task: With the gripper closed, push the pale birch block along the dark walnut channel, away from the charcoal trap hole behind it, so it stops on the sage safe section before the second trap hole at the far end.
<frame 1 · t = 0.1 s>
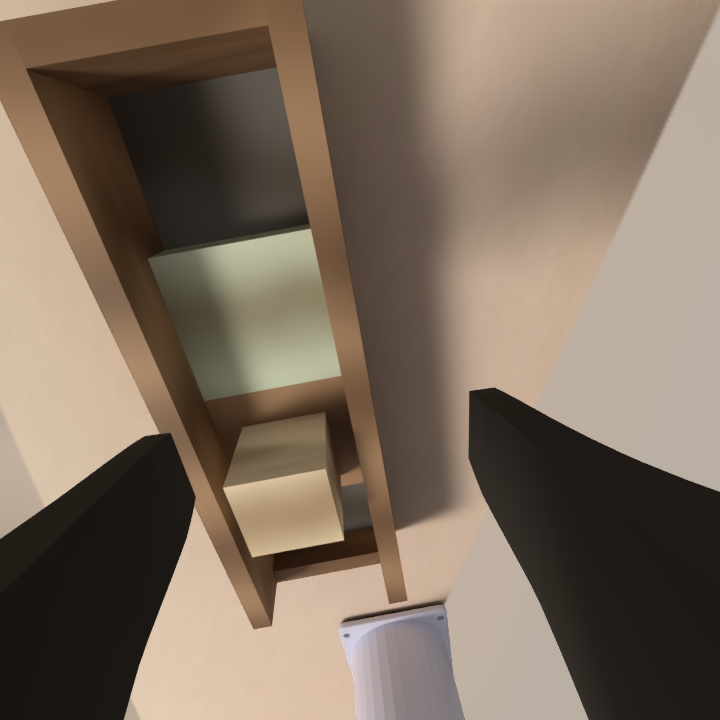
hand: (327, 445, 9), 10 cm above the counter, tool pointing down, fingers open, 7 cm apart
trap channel: (279, 368, 20), on the counter
birch block: (293, 452, 19), point 2 cm above the counter, touching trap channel
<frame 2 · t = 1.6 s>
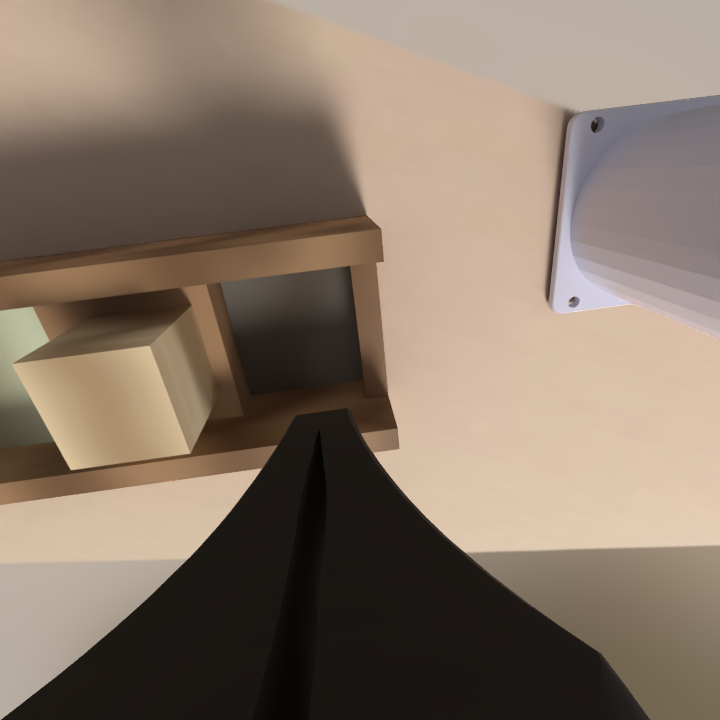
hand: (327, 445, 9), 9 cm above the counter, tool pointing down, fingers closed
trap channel: (91, 350, 18), on the counter
birch block: (157, 358, 16), point 2 cm above the counter, touching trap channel
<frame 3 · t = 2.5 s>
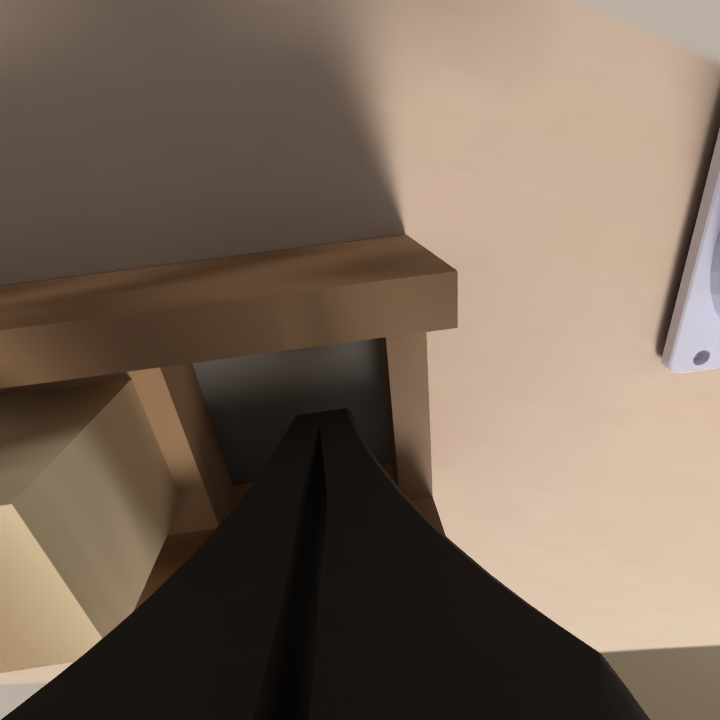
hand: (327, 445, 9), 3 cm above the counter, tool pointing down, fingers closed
birch block: (82, 455, 10), point 2 cm above the counter, touching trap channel
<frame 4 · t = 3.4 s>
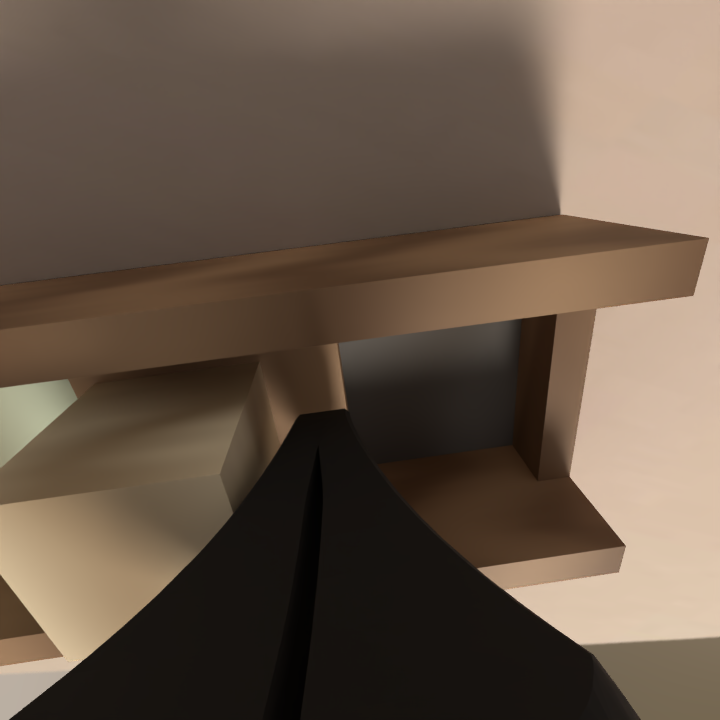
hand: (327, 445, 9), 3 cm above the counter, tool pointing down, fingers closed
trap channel: (137, 410, 12), on the counter
birch block: (201, 438, 10), point 2 cm above the counter, touching gripper
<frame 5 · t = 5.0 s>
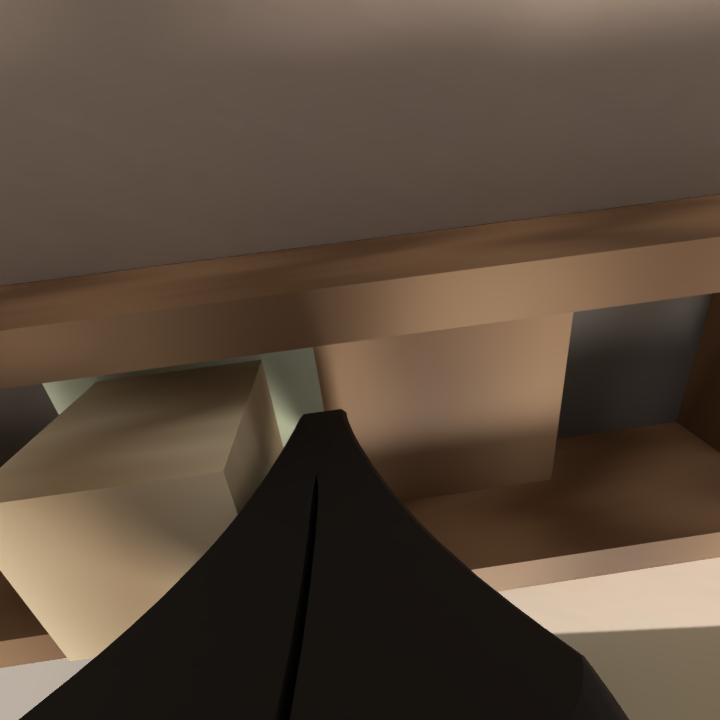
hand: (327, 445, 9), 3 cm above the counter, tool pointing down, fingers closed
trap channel: (325, 385, 12), on the counter
birch block: (202, 437, 10), point 2 cm above the counter, touching gripper, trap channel
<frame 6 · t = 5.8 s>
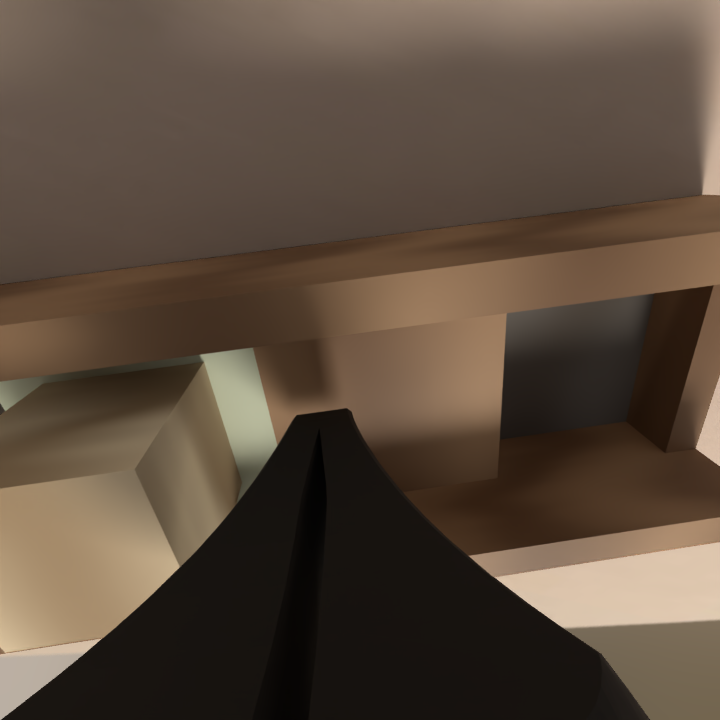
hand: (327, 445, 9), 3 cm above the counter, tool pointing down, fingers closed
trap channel: (278, 386, 13), on the counter
birch block: (151, 437, 11), point 2 cm above the counter, touching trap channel
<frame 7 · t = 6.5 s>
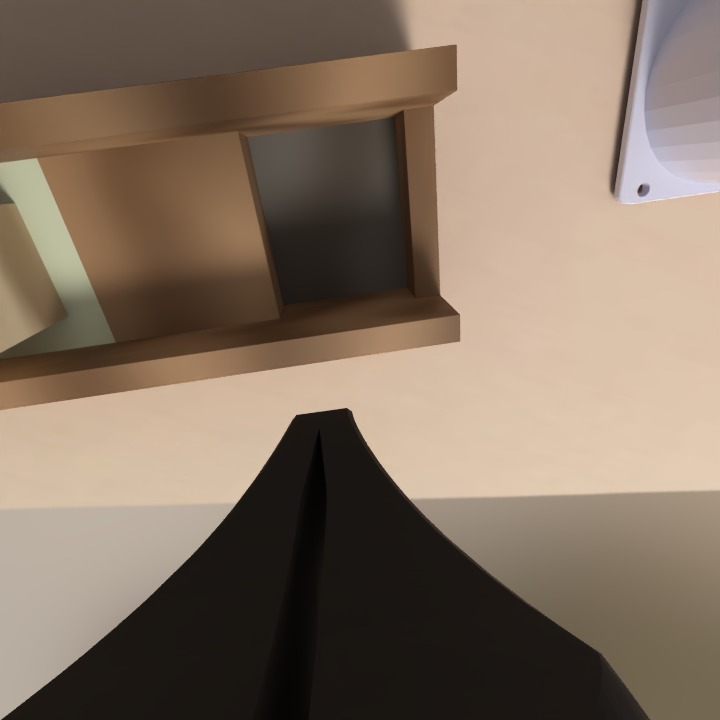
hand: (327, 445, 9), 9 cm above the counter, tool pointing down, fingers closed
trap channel: (108, 250, 16), on the counter
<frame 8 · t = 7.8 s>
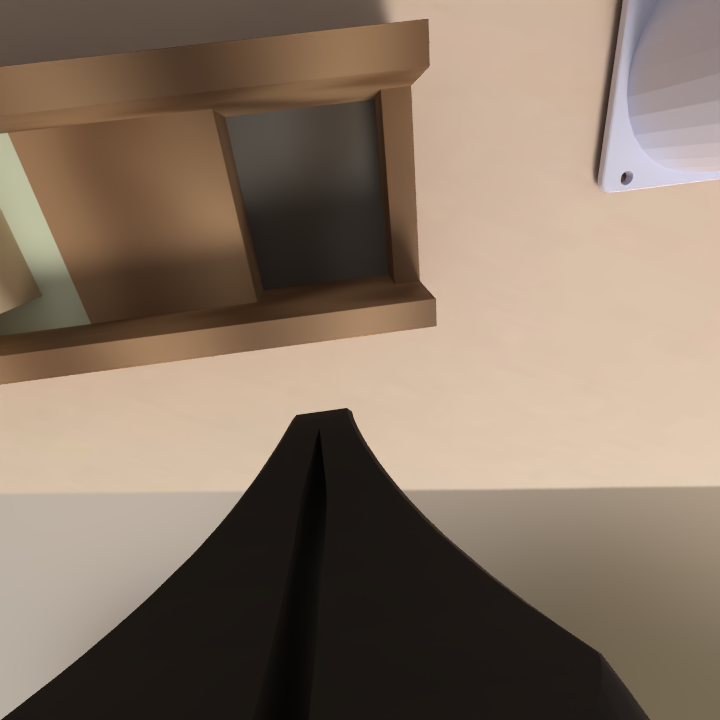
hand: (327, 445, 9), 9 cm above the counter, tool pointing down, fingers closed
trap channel: (84, 231, 16), on the counter
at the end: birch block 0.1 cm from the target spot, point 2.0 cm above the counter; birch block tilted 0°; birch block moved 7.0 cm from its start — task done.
